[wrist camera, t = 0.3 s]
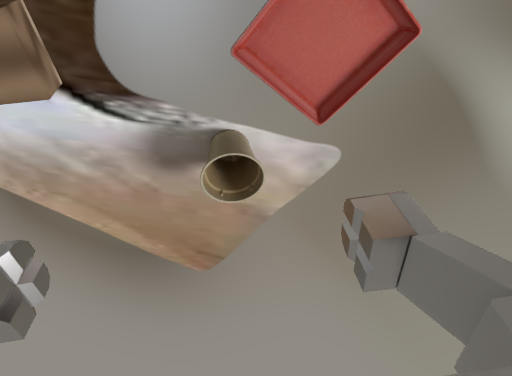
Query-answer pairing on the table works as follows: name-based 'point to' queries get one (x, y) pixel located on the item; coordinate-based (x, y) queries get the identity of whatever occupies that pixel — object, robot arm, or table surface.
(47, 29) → the table surface
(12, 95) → the block
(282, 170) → the table surface
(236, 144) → the flower pot
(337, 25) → the plant saucer
